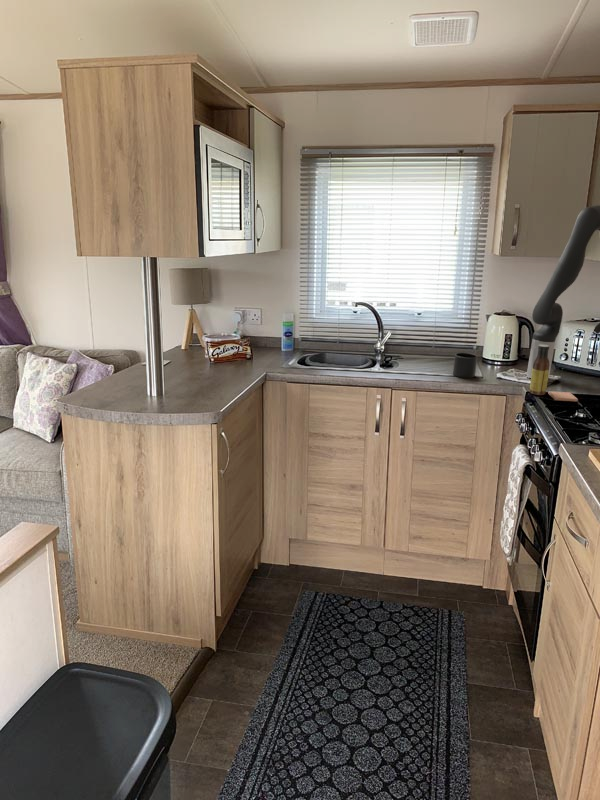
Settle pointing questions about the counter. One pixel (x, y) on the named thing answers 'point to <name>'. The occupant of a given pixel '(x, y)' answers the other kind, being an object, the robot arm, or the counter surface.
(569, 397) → the coaster
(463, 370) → the mug
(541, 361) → the sauce bottle
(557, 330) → the robot arm
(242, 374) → the counter surface
